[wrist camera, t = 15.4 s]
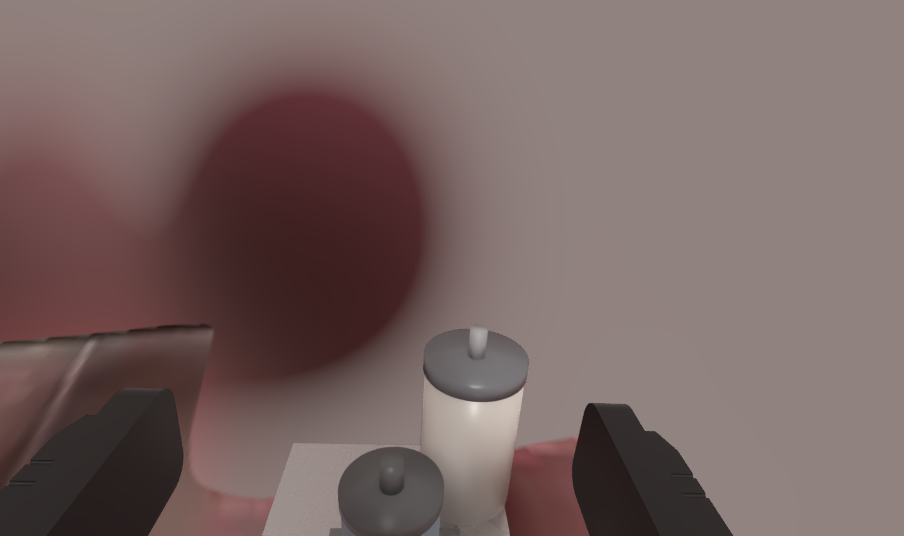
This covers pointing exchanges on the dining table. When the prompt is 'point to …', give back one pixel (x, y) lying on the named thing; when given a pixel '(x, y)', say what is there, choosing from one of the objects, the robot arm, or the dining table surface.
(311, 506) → the mounting plate
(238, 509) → the dining table surface
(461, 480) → the white lidded canister
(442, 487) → the grey lidded canister
